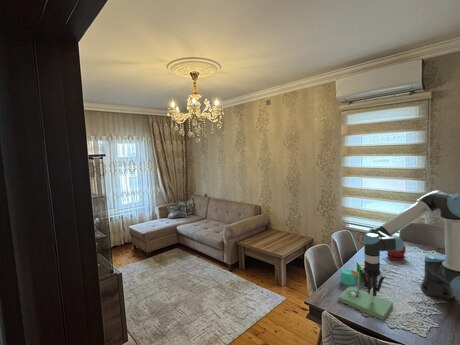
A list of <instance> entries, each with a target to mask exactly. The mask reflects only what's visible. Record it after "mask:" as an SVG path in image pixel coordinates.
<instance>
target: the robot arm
mask: <svg viewBox="0 0 460 345" xmlns="http://www.w3.org/2000/svg"><path fill="white" fill-rule="evenodd" d="M435 211H439V212H440V213H439V214H440V218H441V219H442V220H443V223H444V224H443V225H444V250H445V254H444V255H441V254H436V253H435V254H433V253H432V254H431V253H430V254H426V255H425V256H424V277H423V280H422V281H421V283H420V290H421V291H422V292H423V293H424V294H426V295H427V294H428V296H430V297H433V298H435V299H439V300H451V299H453V298H454V291H456V292H457V293H459V294H460V193H459V192H458V193H457V192H452V191H448V190H434V191H431V192H428V193H427V194H426V193H425V194H424V195H422V196H420V197H419V198H418V199H416V200H415V203H413V204H412V205H411V206H410V207H408V208H406V209H405V210H403V211H402V212H400V213H398V214H396V216H394V217H393V218H391V219H389V220H388V221H387V222H385V223H383V224H382V225H380V226H378V227H371V228H369V230H368V233H367V232H366V233H365V234H364V237H363V248H364V249H363V253H364V256H363V257H364V258H363V259H364V266H365V267H364V269H360V273H361V274H362V278H363V282H364V283H363V285H364V287H365V288H367V291H368V292H367V293H368V294H370V301H372V302H373V301H374V300H375V296H377V292H380V290H381V288H382V286H383V283H384V282H383V281H384V280H385V279H386V275H383V274H382V272H381V266H380V265H381V264H380V260H381V259H380V258H381V257H380V256H381V255H380V254H381V252H387V251H401V250H403V248H404V244H405V242H404V240H403V239H402V238H401V237H399V236H393V235H395V234H397V233H398V232H400V231H401V230H403V229H404V228H406V227H407V226H409V225H411V224H412V223H414V222H415V221H417V220H418V219H420V218H421V217H424V215H426V214H431V213H433V212H435ZM365 272H366V274H367V278H368V281H367V278H366V274H365ZM378 277H379V281H378ZM372 279H373V283H372ZM453 290H454V291H453Z"/></svg>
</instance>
